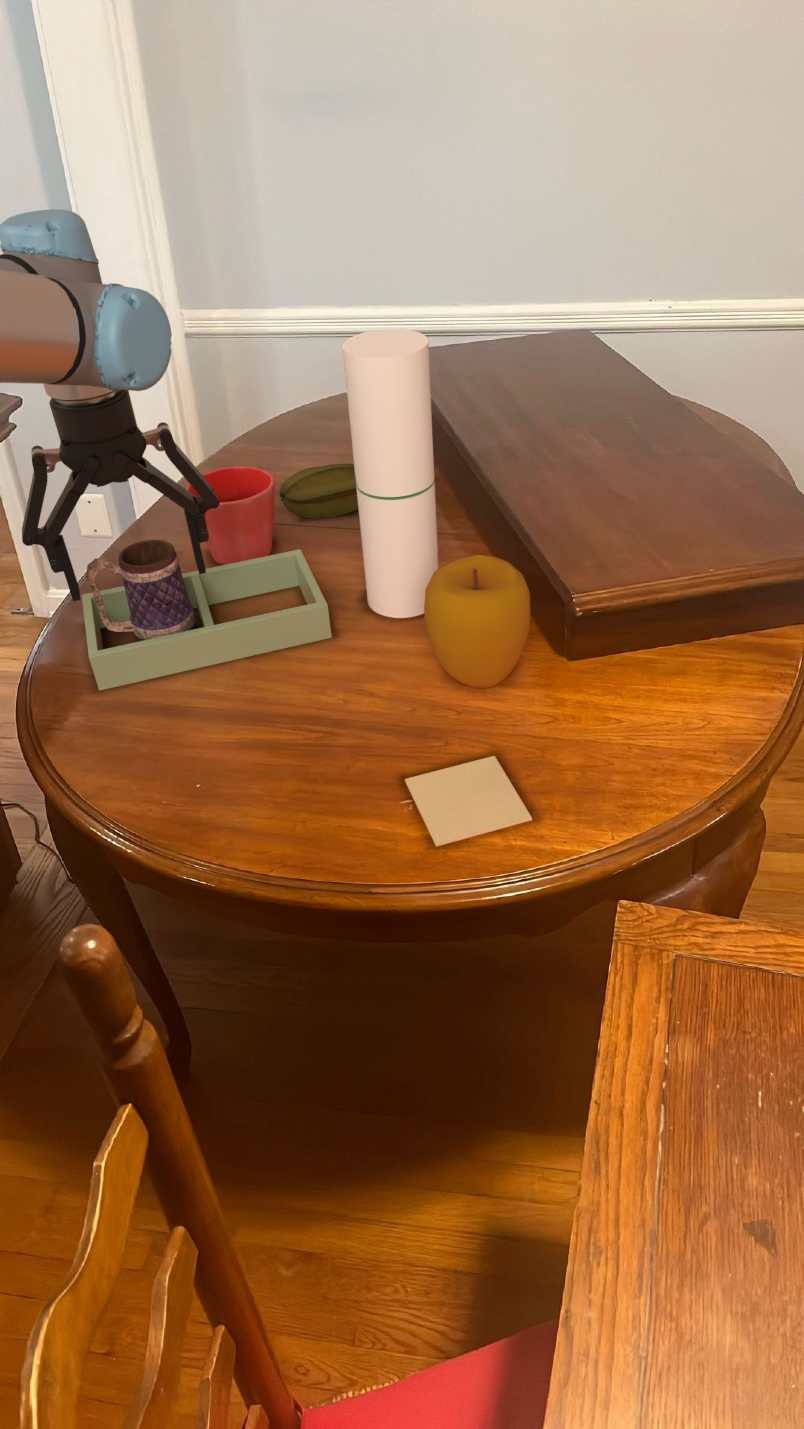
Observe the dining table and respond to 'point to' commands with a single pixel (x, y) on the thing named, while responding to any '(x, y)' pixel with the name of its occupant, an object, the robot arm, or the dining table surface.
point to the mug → (148, 590)
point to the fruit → (321, 491)
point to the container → (393, 466)
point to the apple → (478, 618)
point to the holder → (211, 622)
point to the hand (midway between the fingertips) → (139, 581)
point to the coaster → (467, 800)
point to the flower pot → (240, 514)
